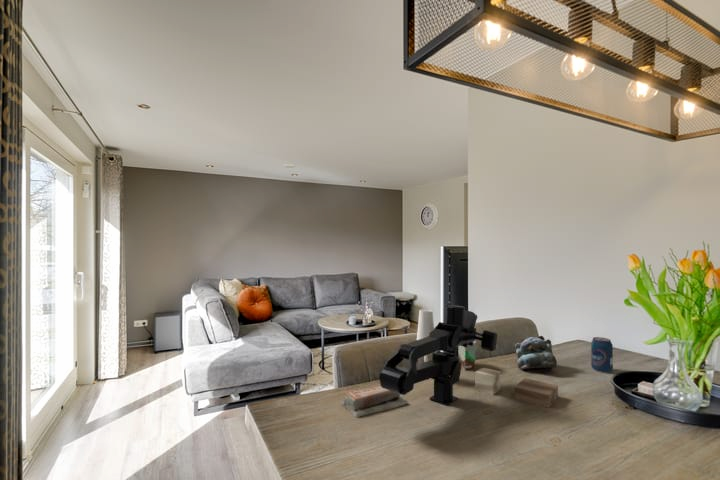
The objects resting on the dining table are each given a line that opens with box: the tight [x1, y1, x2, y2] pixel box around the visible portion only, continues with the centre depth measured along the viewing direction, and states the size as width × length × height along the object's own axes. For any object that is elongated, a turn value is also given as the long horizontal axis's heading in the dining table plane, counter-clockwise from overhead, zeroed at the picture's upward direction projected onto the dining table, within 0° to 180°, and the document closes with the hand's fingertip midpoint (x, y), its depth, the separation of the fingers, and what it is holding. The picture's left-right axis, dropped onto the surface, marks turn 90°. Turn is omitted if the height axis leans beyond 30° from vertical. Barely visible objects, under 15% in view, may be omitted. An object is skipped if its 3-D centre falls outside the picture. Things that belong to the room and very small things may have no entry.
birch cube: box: [474, 367, 501, 396], centre depth 121 cm, size 6×6×6 cm
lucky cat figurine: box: [514, 335, 558, 371], centre depth 143 cm, size 15×12×14 cm
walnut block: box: [513, 377, 559, 409], centre depth 115 cm, size 10×10×4 cm
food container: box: [457, 340, 478, 371], centre depth 144 cm, size 12×6×10 cm, turn 179°
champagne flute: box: [416, 309, 435, 380], centre depth 134 cm, size 7×7×24 cm
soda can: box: [590, 336, 614, 374], centre depth 140 cm, size 7×7×12 cm
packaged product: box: [340, 385, 408, 418], centre depth 110 cm, size 18×5×10 cm
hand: (479, 333), depth 132 cm, fingers open, 9 cm apart
